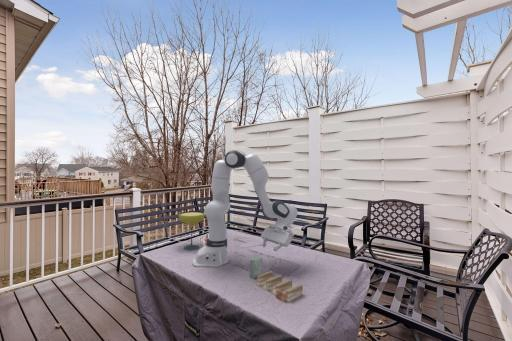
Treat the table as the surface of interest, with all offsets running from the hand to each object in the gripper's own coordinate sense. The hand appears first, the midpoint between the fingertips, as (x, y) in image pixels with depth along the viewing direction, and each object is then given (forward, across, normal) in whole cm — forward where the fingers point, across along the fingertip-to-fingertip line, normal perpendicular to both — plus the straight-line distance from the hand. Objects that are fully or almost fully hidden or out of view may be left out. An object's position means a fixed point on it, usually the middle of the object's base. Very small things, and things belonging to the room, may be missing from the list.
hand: (268, 248), depth 143 cm
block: (+16, 0, +2) cm, 17 cm away
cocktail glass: (+20, -66, 0) cm, 68 cm away
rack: (+17, +18, +2) cm, 25 cm away
